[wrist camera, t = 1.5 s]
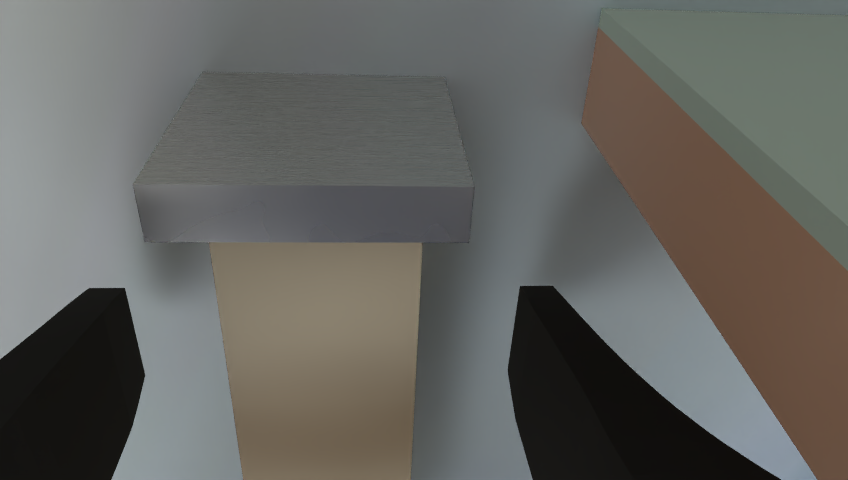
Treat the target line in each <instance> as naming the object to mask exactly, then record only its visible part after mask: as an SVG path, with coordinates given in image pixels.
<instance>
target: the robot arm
mask: <svg viewBox="0 0 848 480" xmlns="http://www.w3.org/2000/svg"><path fill="white" fill-rule="evenodd" d="M508 375H509V382H510V388H511V395H512V401H513V407H514V413H515V419H516V423H517V426H518V430H519V433H520V437H521V440H522V444H523V447H524V451H525V454H526V458H527V461H528V464H529V468H530V471H531V475H532V478H533V480H781V479H779V478H778V477H776V476H774V475H773V474H771V473H769V472H768V471H766V470H764V469H763V468H761V467H760V466H758V465H756V464H755V463H753V462H752V461H750V460H749V459H747V458H746V457H744V456H743V455H741V454H740V453H738V452H737V451H735V450H734V449H732V448H731V447H729V446H727V445H726V444H725V443H723V442H722V441H720V440H719V439H717V438H716V437H715V436H713V435H712V434H710V433H709V432H708V431H706V430H705V429H704V428H702V427H701V426H700V425H698V424H697V423H696V422H694V421H693V420H692V419H691V418H689V417H688V416H687V415H685V414H684V413H683V412H681V411H680V410H679V409H677V408H676V407H675V406H674V405H673V404H671V403H670V402H669V401H668V400H666V399H665V398H664V397H663V396H662V395H660V394H659V393H658V392H657V391H656V390H655V389H654V388H653V387H651V386H650V385H649V384H648V383H647V382H646V381H645V380H644V379H643V378H641V377H640V376H639V375H638V374H637V373H636V372H635V371H634V370H633V369H632V368H631V367H629V366H628V365H627V364H626V363H625V362H624V361H623V360H622V359H621V358H620V357H619V356H618V355H617V354H616V353H615V352H614V351H613V350H612V349H611V348H610V347H609V346H608V345H607V344H606V343H605V342H604V341H603V340H602V339H601V338H600V337H599V335H598V334H597V333H596V332H595V331H594V330H593V329H592V328H591V327H590V326H589V325H588V324H587V323H586V322H585V320H584V319H583V318H582V317H581V316H580V315H579V314H578V313H577V312H576V311H575V310H574V308H573V307H572V306H571V305H570V304H569V303H568V302H567V301H566V300H565V299H564V298H563V296H562V295H561V294H560V293H559V292H558V291H557V290H556V289H555V288H554V287H553V286H520V289H519V296H518V303H517V310H516V317H515V323H514V330H513V337H512V344H511V351H510V358H509V365H508ZM144 378H145V373H144V368H143V364H142V360H141V355H140V351H139V347H138V342H137V338H136V334H135V330H134V325H133V321H132V317H131V312H130V308H129V304H128V299H127V295H126V291H125V288H89V289H87V290H86V291H85V292H83V293H82V294H81V295H79V296H78V297H77V298H75V299H74V300H73V301H72V302H71V303H69V304H68V305H67V306H66V307H64V308H63V309H62V310H61V311H59V312H58V313H57V314H56V315H55V316H53V317H52V318H51V319H50V320H49V321H47V322H46V323H45V324H44V325H42V326H41V327H40V328H39V329H38V330H36V331H35V332H34V333H33V334H31V335H30V336H29V337H28V338H26V339H25V340H24V341H23V342H21V343H20V344H19V345H18V346H16V347H15V348H14V349H13V350H11V351H10V352H9V353H8V354H6V355H5V356H4V357H3V358H1V359H0V480H111V479H112V476H113V474H114V472H115V469H116V467H117V464H118V462H119V459H120V457H121V454H122V452H123V449H124V447H125V444H126V442H127V439H128V436H129V434H130V431H131V429H132V426H133V422H134V418H135V414H136V411H137V407H138V403H139V399H140V395H141V390H142V386H143V382H144Z"/></svg>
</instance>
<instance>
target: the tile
mask: <svg viewBox="0 0 848 480" xmlns="http://www.w3.org/2000/svg"><path fill="white" fill-rule="evenodd" d="M581 124H582V125H583V127H584V128H585V130H586V131H587V133H588V134H589V136H590V137H591V139H592V140H593V142H594V143H595V145H596V146H597V148H598V149H599V151H600V152H601V154H602V155H603V157H604V158H605V160H606V161H607V163H608V164H609V166H610V167H611V169H612V170H613V172H614V173H615V175H616V176H617V178H618V179H619V181H620V182H621V184H622V185H623V187H624V188H625V190H626V191H627V193H628V194H629V196H630V197H631V199H632V200H633V202H634V203H635V205H636V206H637V208H638V209H639V211H640V213H641V214H642V216H643V217H644V219H645V220H646V222H647V223H648V225H649V226H650V228H651V229H652V231H653V232H654V234H655V235H656V237H657V238H658V240H659V241H660V243H661V244H662V246H663V247H664V249H665V250H666V252H667V253H668V255H669V256H670V258H671V259H672V261H673V262H674V264H675V265H676V267H677V268H678V270H679V271H680V273H681V274H682V276H683V277H684V279H685V280H686V282H687V283H688V285H689V286H690V288H691V289H692V291H693V292H694V294H695V295H696V297H697V299H698V300H699V302H700V303H701V305H702V306H703V308H704V309H705V311H706V312H707V314H708V315H709V317H710V318H711V320H712V321H713V323H714V324H715V326H716V327H717V329H718V330H719V332H720V333H721V335H722V336H723V338H724V339H725V341H726V342H727V344H728V345H729V347H730V348H731V350H732V351H733V353H734V354H735V356H736V357H737V359H738V360H739V362H740V363H741V365H742V366H743V368H744V369H745V371H746V372H747V374H748V375H749V377H750V378H751V380H752V381H753V383H754V385H755V386H756V388H757V389H758V391H759V392H760V394H761V395H762V397H763V398H764V400H765V401H766V403H767V404H768V406H769V407H770V409H771V410H772V412H773V413H774V415H775V416H776V418H777V419H778V421H779V422H780V424H781V425H782V427H783V428H784V430H785V431H786V433H787V434H788V436H789V437H790V439H791V440H792V442H793V443H794V445H795V446H796V448H797V449H798V451H799V452H800V454H801V455H802V457H803V458H804V460H805V461H806V463H807V464H808V466H809V467H810V469H811V471H812V472H813V474H814V475H815V477H816V478H817V480H848V15H822V14H787V13H751V12H716V11H681V10H645V9H610V8H602V9H601V15H600V20H599V26H598V32H597V37H596V43H595V49H594V54H593V60H592V66H591V71H590V77H589V83H588V88H587V94H586V100H585V105H584V111H583V117H582V122H581Z"/></svg>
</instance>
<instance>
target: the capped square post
mask: <svg viewBox="0 0 848 480" xmlns="http://www.w3.org/2000/svg"><path fill="white" fill-rule="evenodd" d="M133 188H134V192H135V197H136V202H137V207H138V212H139V217H140V222H141V227H142V232H143V237H144V242H209V247H210V254H211V260H212V267H213V274H214V281H215V288H216V295H217V302H218V309H219V316H220V322H221V329H222V336H223V343H224V350H225V357H226V364H227V371H228V378H229V385H230V391H231V398H232V405H233V412H234V419H235V426H236V433H237V440H238V447H239V453H240V460H241V467H242V474H243V480H411V462H412V442H413V423H414V403H415V383H416V363H417V344H418V324H419V304H420V284H421V264H422V245H423V243H469V239H470V228H471V217H472V207H473V196H474V184H473V180H472V176H471V173H470V169H469V165H468V162H467V158H466V154H465V151H464V147H463V143H462V139H461V136H460V132H459V128H458V125H457V121H456V117H455V114H454V110H453V106H452V103H451V99H450V95H449V92H448V88H447V84H446V80H445V77H438V76H387V75H337V74H286V73H235V72H202V73H201V75H200V76H199V78H198V80H197V81H196V83H195V85H194V86H193V88H192V89H191V91H190V93H189V94H188V96H187V97H186V99H185V101H184V102H183V104H182V106H181V107H180V109H179V110H178V112H177V114H176V115H175V117H174V118H173V120H172V122H171V123H170V125H169V127H168V128H167V130H166V131H165V133H164V135H163V136H162V138H161V139H160V141H159V143H158V144H157V146H156V148H155V149H154V151H153V152H152V154H151V156H150V157H149V159H148V160H147V162H146V164H145V165H144V167H143V169H142V170H141V172H140V173H139V175H138V177H137V178H136V180H135V181H134V183H133Z"/></svg>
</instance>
